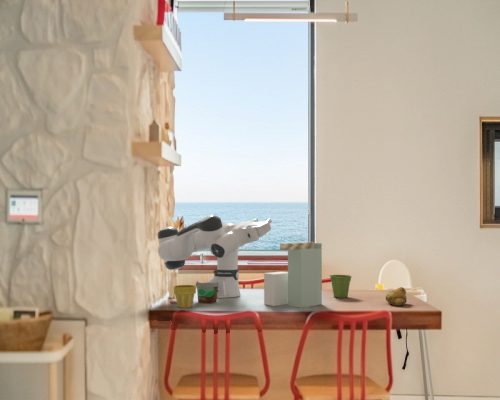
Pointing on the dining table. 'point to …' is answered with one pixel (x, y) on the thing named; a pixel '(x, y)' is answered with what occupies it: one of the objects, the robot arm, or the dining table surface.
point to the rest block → (276, 288)
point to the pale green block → (305, 277)
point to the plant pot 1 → (184, 295)
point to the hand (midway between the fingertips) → (263, 220)
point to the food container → (207, 292)
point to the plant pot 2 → (340, 285)
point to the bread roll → (397, 297)
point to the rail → (296, 246)
